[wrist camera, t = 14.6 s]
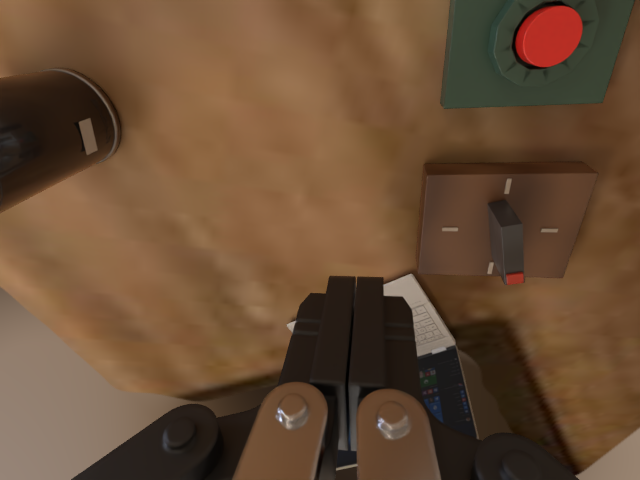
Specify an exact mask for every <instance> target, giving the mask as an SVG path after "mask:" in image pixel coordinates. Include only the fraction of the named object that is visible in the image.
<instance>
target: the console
mask: <svg viewBox="0 0 640 480" xmlns="http://www.w3.org/2000/svg"><path fill="white" fill-rule="evenodd" d="M597 176H598V173H597V172H596V171H595V170H593V169H592V168H590V167H589V166H588V165H586V164H585V163H583V162H519V163H452V164H424V165H423V177H422V189H421V201H420V213H419V225H418V237H417V249H416V263H417V270H418V274H437V275H472V276H501V275H500V273H499V271H498V269H497V267H496V265H495V263H494V260H493V258H492V253H491V241H490V229H489V217H488V205H487V204H488V203H492V202H497V201H503V200H507V202H508V203H509V205H510V206H511V208H512V209H513V211H514V212H515V213H516V215H517V216H518V218H519V219H520V221H521V222H522V224H523V251H524V277H542V278H563V276H564V273H565V270H566V267H567V264H568V261H569V258H570V255H571V253H572V250H573V247H574V244H575V241H576V238H577V235H578V232H579V229H580V226H581V223H582V220H583V217H584V214H585V212H586V209H587V206H588V203H589V200H590V197H591V194H592V191H593V188H594V185H595V182H596V179H597Z"/></svg>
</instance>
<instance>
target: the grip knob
mask: <svg viewBox="0 0 640 480" xmlns="http://www.w3.org/2000/svg"><path fill="white" fill-rule="evenodd" d="M487 205H488V217H489V229H490V241H491V253H492V258H493V260H494V263H495V265H496V267H497V269H498V271H499V273H500V275H501V278H502V280H503V282H504V284H505V285H509V284H517V283H524V282H525V281H524V251H523V224H522V222H521V221H520V219H519V218H518V216H517V215H516V213H515V212H514V211H513V209H512V208H511V206H510V205H509V203H508V202H507V200H503V201H497V202H492V203H488V204H487Z"/></svg>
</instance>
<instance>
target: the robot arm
mask: <svg viewBox="0 0 640 480" xmlns="http://www.w3.org/2000/svg"><path fill="white" fill-rule="evenodd" d="M120 136H121V129H120V123H119V119H118V116H117V113H116V111H115V109H114V107H113V105H112V103H111V101H110V100H109V98H108V97H107V96H106V94H105V93H104V92H103V91H102V90H101V89H100V88H99V87H98V86H97V85H96V84H95V83H94V82H93V81H91V80H90V79H89V78H87V77H86V76H84V75H82V74H80V73H78V72H76V71H73V70H70V69H66V68H52V69H46V70H42V71H40V72H35V73H29V74H21V75H15V76H9V77H3V78H0V213H2V212H4V211H5V210H7V209H9V208H11V207H13V206H15V205H17V204H19V203H21V202H23V201H25V200H27V199H29V198H30V197H32V196H34V195H36V194H38V193H40V192H42V191H44V190H46V189H48V188H50V187H52V186H54V185H55V184H57V183H59V182H61V181H63V180H65V179H67V178H69V177H71V176H73V175H75V174H77V173H79V172H81V171H83V170H85V169H87V168H88V167H90V166H92V165H94V164H97V163H100V162H102V161H104V160H106V159H108V158H109V157H111V156H112V155H113V154H114V153H115V151H116V150H117V148H118V146H119V143H120ZM349 428H350V442H351V451H357V480H579V479H578V478H576V476H574V475H573V474H572V473H571V472H570V471H569V470H568V469H566V468H565V467H564V466H563V465H562V464H561V463H560V462H558V461H557V460H556V459H555V458H554V457H553V456H552V455H550V454H549V453H548V452H547V451H546V450H545V449H543V448H542V447H541V446H540V445H538V444H537V443H535V442H533V441H532V440H530V439H528V438H525V437H523V436H520V435H517V434H512V433H496V434H493V435H490V436H488V437H486V438H485V439H484V440H483V441H481V440H479V439H477V438H474V437H472V436H469V435H466V434H464V433H461V432H459V431H456V430H454V429H452V428H450V427H448V426H447V425H445V424H443V423H442V422H441V421H440V420H438V419H437V418H436V417H435V416H434V415H433V414H432V413H431V411H430V410H429V409H428V407H427V406H426V404H425V402H424V399H423V397H422V392H421V384H420V375H419V367H418V358H417V349H416V341H415V331H414V322H413V313H412V309H411V308H410V306H409V305H408V303H407V302H406V300H405V299H404V298H403V296H384V283H383V277H357V286H356V277H353V276H330V277H329V281H328V286H327V291H326V294H321V293H310V294H309V295H308V297H307V298H306V299H305V300H304V301H303V302H302V303H301V305H300V307H299V310H298V314H297V318H296V322H295V325H294V329H293V335H292V336H291V340H290V343H289V347H288V351H287V354H286V358H285V362H284V365H283V369H282V372H281V376H280V380H279V383H278V385H277V387H276V388H275V389H274V390H272V391H271V392H270V393H269V394H268V395H267V396H266V397H265V399H264V400H263V402H262V404H260V405H259V406H257V407H255V408H253V409H251V410H248V411H244V412H240V413H236V414H232V415H228V416H224V417H219V418H216V416H215V414H214V413H213V411H212V410H211V409H209V408H208V407H206V406H203V405H199V404H187V405H183V406H180V407H177V408H175V409H173V410H171V411H169V412H168V413H166V414H164V415H163V416H162V417H160V418H159V419H158V420H156V421H154V422H153V423H152V424H150V425H149V426H147V427H146V428H145V429H143V430H142V431H140V432H139V433H137V434H136V435H134V436H133V437H132V438H130V439H129V440H127V441H126V442H124V443H123V444H121V445H120V446H119V447H117V448H116V449H114V450H113V451H112V452H110V453H109V454H107V455H106V456H104V457H103V458H101V459H100V460H99V461H97V462H96V463H94V464H93V465H91V466H90V467H89V468H87V469H86V470H85V471H83V472H81V473H80V474H78V475H77V476H76V477H74V478H73V479H71V480H335V475H336V465H337V455H338V450H347V451H348V442H349Z"/></svg>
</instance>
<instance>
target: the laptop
mask: <svg viewBox="0 0 640 480" xmlns="http://www.w3.org/2000/svg"><path fill="white" fill-rule="evenodd" d="M384 296H403V298H404V299H405V300H406V302H407V303H408V305H409V306H410V308H411V309H412V313H413V322H414V331H415V341H416V349H417V356H418V357H417V358H418V367H419V375H420V384H421V392H422V397H423V399H424V402H425V404H426V406H427V407H428V409H429V410H430V411H431V413H432V414H433V415H434V416H435V417H436V418H437V419H438V420H440V421H441V422H442V423H443V424H445V425H447V426H448V427H450V428H452V429H454V430H456V431H459V432H461V433H464V434H466V435H469V436H472V437H474V438H477V439H479V436H478V432H477V428H476V423H475V419H474V415H473V411H472V407H471V402H470V398H469V394H468V390H467V385H466V381H465V377H464V373H463V369H462V364H461V360H460V356H459V351H458V347H457V346H455V342H456V341H455V339H454V337H453V336H452V334H451V333H450V331H449V329H448V328H447V326H446V325H445V323H444V322H443V320H442V318H441V317H440V315H439V314H438V312H437V311H436V309H435V308H434V306H433V304H432V303H431V301H430V300H429V298H428V297H427V295H426V294H425V292H424V291H423V289H422V288H421V286H420V284H419V283H418V281H417V280H416V278H415V277H414V275H413V274H409V275H406V276H404V277H401V278H399V279H397V280H394V281H392V282H389V283H387V284H384ZM295 322H296V321H294V322H291V323H289V324H287V327H288V328H289V329H290V330H291V332H292V333H293V329H294V325H295ZM452 345H454V346H452ZM449 346H451V347H449ZM446 347H447V348H446ZM430 352H431V353H430ZM427 353H428V354H427ZM424 354H425V355H424ZM420 355H422V356H420ZM355 466H357V451H351V442H350V428H349V442H348V451H347V450H338V455H337V465H336V470H340V469H345V468H350V467H355Z"/></svg>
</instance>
